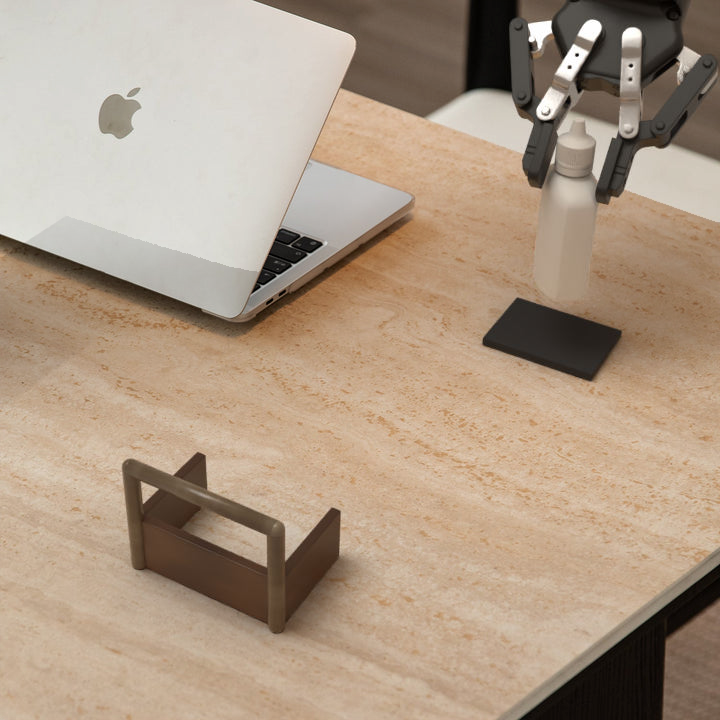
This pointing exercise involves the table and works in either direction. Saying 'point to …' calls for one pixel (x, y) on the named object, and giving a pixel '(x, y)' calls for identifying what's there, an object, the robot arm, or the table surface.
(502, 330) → the mat
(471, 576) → the table surface
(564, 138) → the eye dropper bottle
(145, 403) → the table surface
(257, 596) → the caddy
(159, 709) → the table surface
